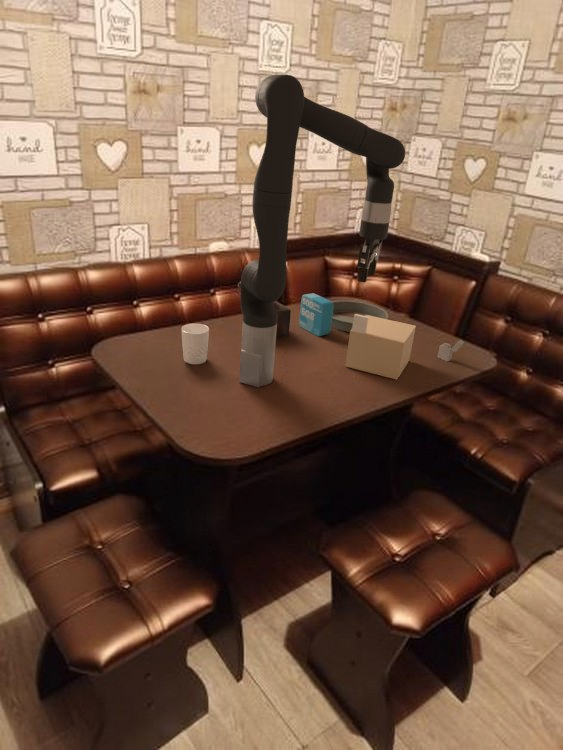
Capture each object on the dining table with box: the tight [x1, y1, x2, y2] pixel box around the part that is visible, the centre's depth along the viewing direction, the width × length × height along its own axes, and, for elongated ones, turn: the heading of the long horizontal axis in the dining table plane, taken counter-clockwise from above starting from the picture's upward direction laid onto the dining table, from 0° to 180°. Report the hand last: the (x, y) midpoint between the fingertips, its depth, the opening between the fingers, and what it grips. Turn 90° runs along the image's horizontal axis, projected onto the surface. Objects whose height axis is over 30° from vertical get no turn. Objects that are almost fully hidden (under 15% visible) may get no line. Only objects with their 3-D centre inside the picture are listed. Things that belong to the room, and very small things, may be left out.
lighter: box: [437, 339, 465, 362], centre depth 172 cm, size 7×2×8 cm, turn 43°
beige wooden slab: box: [344, 313, 404, 380], centre depth 157 cm, size 1×16×17 cm, turn 65°
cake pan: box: [331, 300, 390, 333], centre depth 198 cm, size 25×25×4 cm
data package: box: [298, 292, 333, 337], centre depth 186 cm, size 12×4×12 cm, turn 37°
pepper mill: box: [237, 280, 292, 339], centre depth 178 cm, size 16×11×18 cm
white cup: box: [181, 323, 210, 365], centre depth 158 cm, size 8×8×10 cm
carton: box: [351, 315, 417, 380], centre depth 165 cm, size 15×16×12 cm
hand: (366, 278), depth 151 cm, fingers open, 8 cm apart
